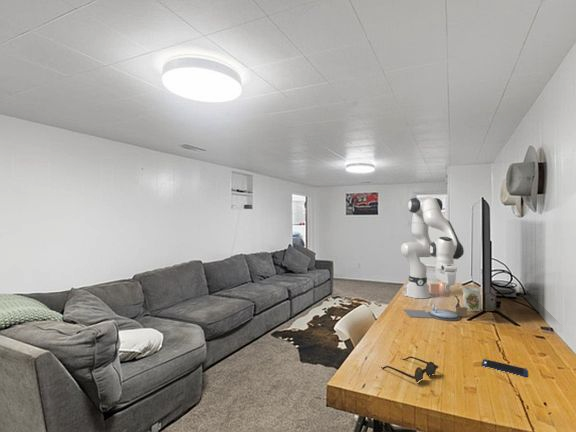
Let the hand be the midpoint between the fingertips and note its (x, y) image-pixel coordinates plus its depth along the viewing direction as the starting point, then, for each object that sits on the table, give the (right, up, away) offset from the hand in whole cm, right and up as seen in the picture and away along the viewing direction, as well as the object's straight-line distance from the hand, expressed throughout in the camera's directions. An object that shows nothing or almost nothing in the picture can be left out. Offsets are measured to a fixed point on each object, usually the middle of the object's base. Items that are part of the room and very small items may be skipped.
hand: (443, 289), depth 184 cm
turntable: (+2, -14, -1) cm, 14 cm away
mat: (-14, -15, +3) cm, 20 cm away
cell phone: (-9, -15, -64) cm, 66 cm away
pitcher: (+25, -16, +12) cm, 32 cm away
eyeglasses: (-46, -14, -68) cm, 83 cm away
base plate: (0, -15, -1) cm, 15 cm away
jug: (-2, -3, 0) cm, 4 cm away
